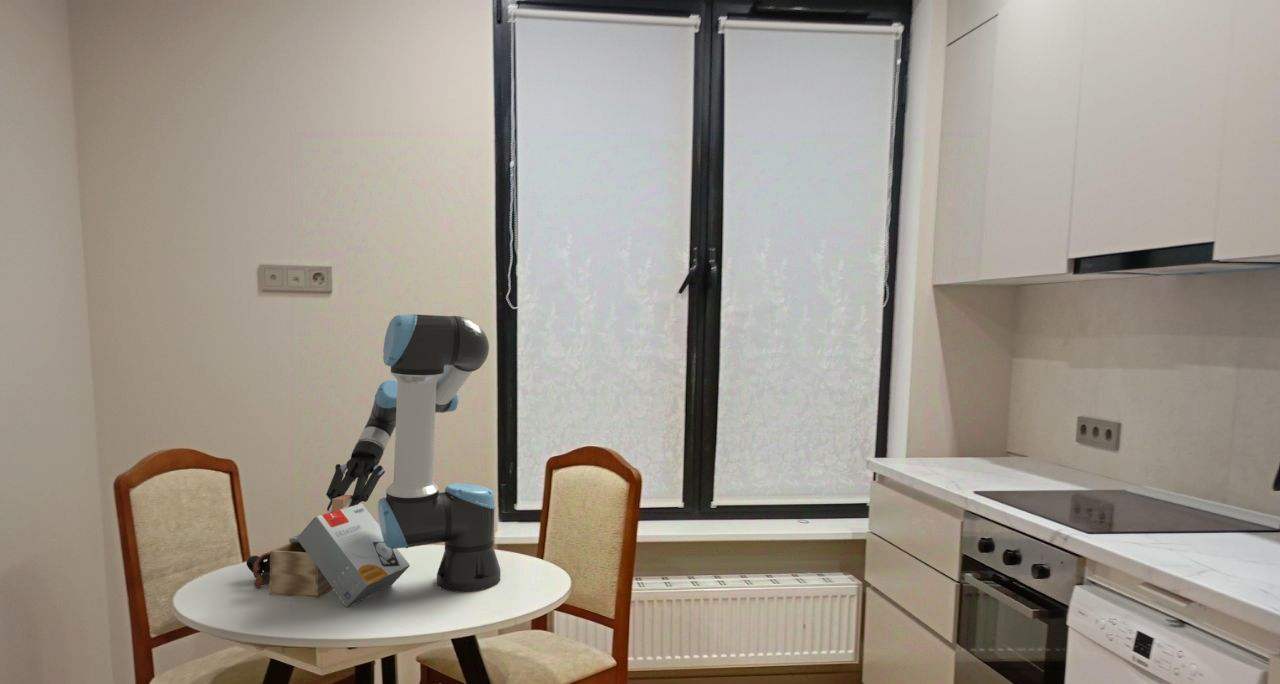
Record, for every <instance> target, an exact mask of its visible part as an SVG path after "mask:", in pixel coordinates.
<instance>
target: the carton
mask: <svg viewBox="0 0 1280 684" xmlns="http://www.w3.org/2000/svg"><path fill="white" fill-rule="evenodd" d="M269 552H270V584H269V591H268V592H269V593H268V594H269V596H278V597H279V596H281V597H291V598H293V597H294V598H304V599H305V598H306V599H307V598H308V599H319V598H321V597H322V596H325V595H326V594H328V593H329V592H331V591H333V590H334V589H333V587H332V586H331V585H330V583H329V582H328V581H327V579H326V578H325V576H324V575H323V574H322V572H321V571H320V569H319V568H318V567H317V565H316V564H315V563H314V561H313V560H312V559H311V557H310V556H309V555H308V553H307V552H306V550H305V549H304V548H303V547H302V545H301V544H300V543H299V542H288V543H285V544H283V545H281V546H279V547H275V548H274V549H271V550H270V551H269Z"/></svg>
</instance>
